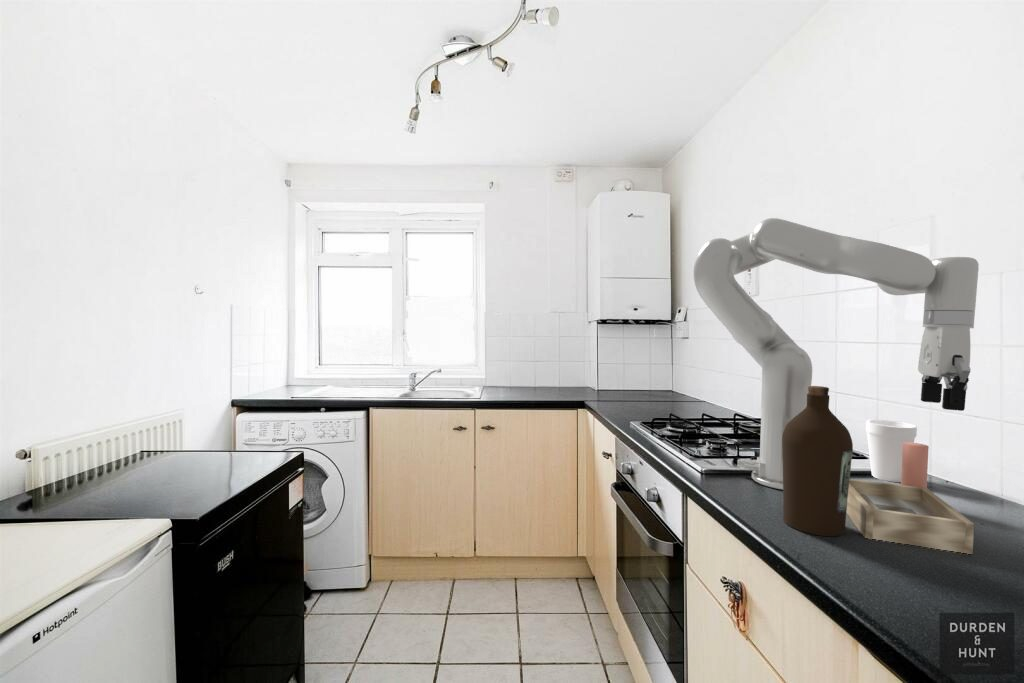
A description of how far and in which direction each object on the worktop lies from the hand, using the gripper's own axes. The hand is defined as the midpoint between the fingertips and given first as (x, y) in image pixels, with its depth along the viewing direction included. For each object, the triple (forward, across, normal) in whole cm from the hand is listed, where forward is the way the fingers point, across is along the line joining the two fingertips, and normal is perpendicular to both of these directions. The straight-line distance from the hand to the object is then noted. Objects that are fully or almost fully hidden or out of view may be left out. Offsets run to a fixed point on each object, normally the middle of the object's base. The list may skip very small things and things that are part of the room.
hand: (941, 405), depth 95 cm
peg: (+20, +1, -4) cm, 21 cm away
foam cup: (+20, -17, -2) cm, 27 cm away
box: (+20, +16, -11) cm, 28 cm away
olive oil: (+21, +22, -25) cm, 39 cm away
